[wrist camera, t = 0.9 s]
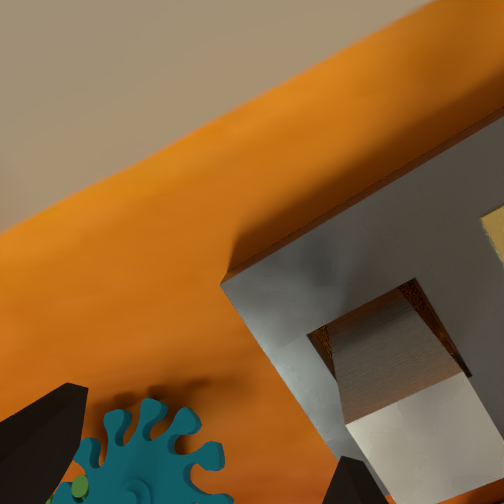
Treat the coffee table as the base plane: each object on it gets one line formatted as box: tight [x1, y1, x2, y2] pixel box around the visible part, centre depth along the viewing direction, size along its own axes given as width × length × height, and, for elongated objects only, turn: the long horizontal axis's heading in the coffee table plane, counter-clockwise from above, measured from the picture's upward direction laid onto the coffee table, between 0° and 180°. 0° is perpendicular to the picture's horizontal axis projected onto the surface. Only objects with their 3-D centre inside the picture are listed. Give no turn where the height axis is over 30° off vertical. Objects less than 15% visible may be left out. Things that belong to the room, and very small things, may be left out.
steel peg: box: [326, 287, 504, 504], centre depth 16 cm, size 4×4×8 cm
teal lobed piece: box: [46, 398, 234, 504], centre depth 21 cm, size 11×6×10 cm
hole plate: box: [220, 107, 504, 496], centre depth 18 cm, size 14×20×2 cm
